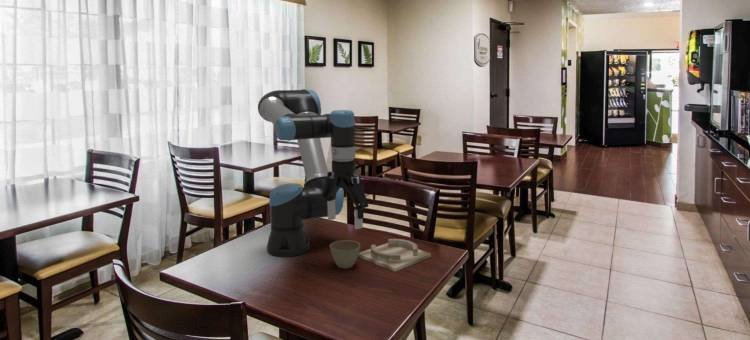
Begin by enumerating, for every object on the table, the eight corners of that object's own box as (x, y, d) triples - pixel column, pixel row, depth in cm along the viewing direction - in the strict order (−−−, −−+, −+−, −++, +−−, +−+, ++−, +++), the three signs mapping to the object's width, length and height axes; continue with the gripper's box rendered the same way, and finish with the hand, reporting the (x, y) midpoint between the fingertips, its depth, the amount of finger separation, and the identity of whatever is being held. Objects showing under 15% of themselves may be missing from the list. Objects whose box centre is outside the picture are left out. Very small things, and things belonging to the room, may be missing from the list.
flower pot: (356, 272, 158) (356, 251, 157) (326, 270, 160) (326, 249, 159) (363, 261, 168) (363, 241, 166) (335, 259, 170) (334, 239, 168)
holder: (357, 256, 172) (357, 246, 171) (393, 243, 184) (393, 234, 183) (394, 271, 159) (394, 260, 158) (431, 256, 171) (431, 246, 170)
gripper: (310, 156, 163) (312, 218, 167) (361, 166, 145) (362, 235, 149) (328, 153, 168) (329, 213, 172) (379, 162, 150) (379, 229, 155)
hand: (344, 223), depth 161 cm, fingers open, 13 cm apart
